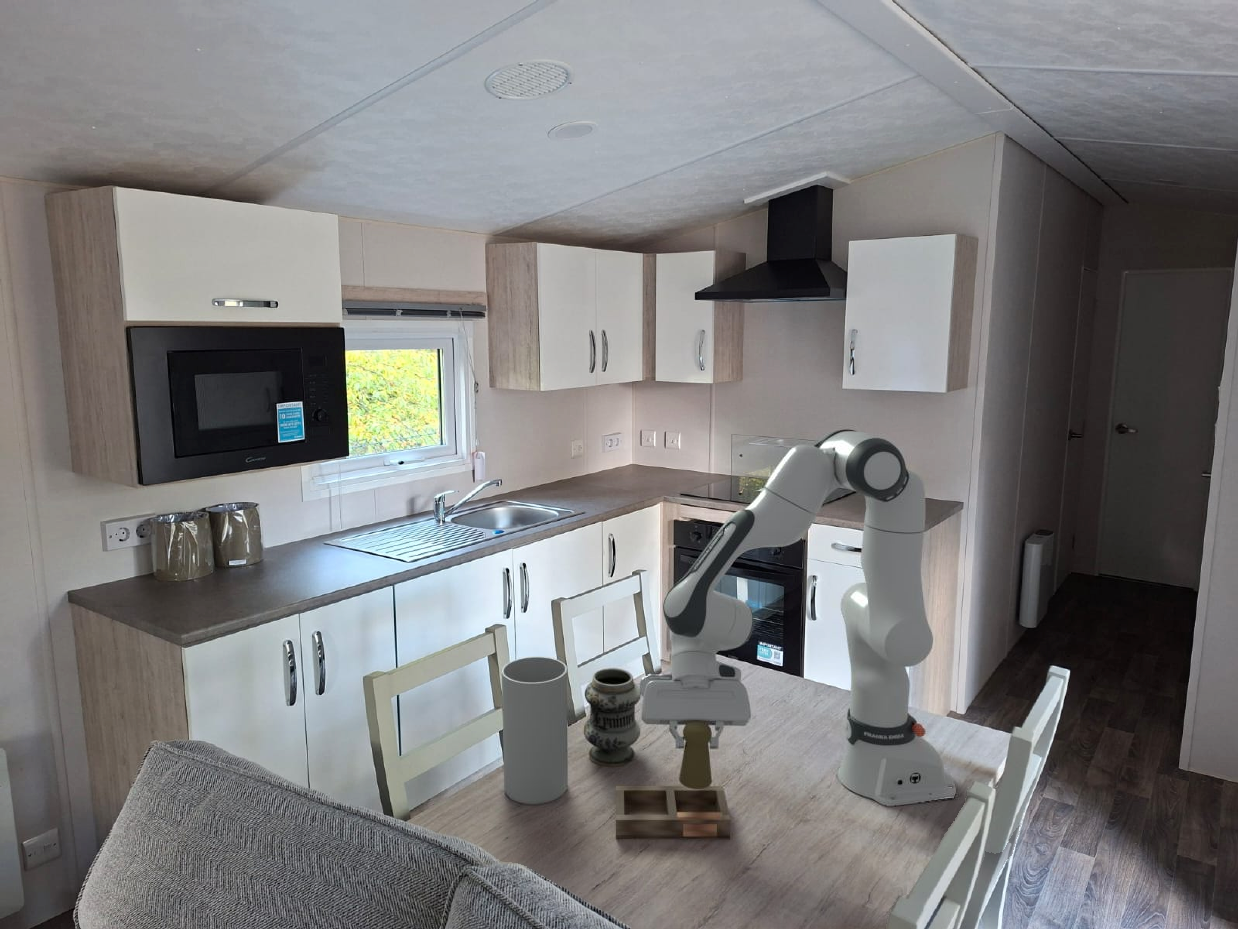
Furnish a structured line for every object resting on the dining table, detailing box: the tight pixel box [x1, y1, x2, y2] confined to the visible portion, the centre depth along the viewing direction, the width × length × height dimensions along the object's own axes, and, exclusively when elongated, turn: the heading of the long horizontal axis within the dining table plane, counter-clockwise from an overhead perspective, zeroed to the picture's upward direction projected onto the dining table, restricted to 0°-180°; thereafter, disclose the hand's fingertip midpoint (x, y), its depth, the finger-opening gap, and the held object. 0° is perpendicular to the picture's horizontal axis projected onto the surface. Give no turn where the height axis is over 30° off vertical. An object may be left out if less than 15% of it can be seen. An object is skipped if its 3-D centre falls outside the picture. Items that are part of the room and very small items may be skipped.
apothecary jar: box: [583, 667, 642, 768], centre depth 180 cm, size 12×12×18 cm
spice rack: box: [615, 785, 732, 840], centre depth 157 cm, size 20×11×4 cm, turn 90°
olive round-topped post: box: [678, 721, 713, 789], centre depth 155 cm, size 6×6×11 cm
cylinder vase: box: [501, 656, 569, 805], centre depth 166 cm, size 12×12×25 cm
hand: (697, 748), depth 155 cm, fingers closed on olive round-topped post, 5 cm apart
